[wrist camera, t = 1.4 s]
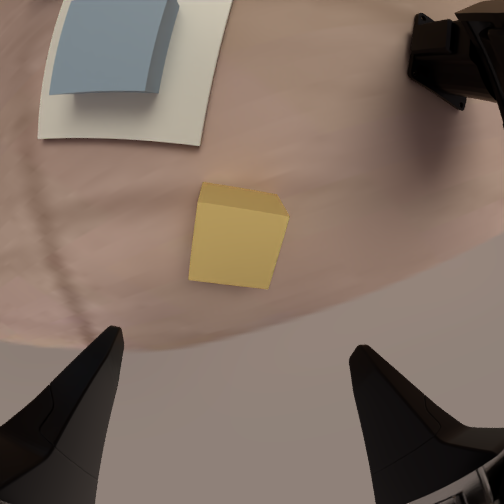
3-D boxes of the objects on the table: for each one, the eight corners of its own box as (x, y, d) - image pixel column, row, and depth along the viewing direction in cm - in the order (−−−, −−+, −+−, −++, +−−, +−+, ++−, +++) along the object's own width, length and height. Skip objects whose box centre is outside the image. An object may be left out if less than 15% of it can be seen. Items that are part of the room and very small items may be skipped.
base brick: (179, 6, 10) (171, -12, 8) (158, 93, 13) (144, 91, 11) (92, 12, 9) (71, 0, 7) (73, 94, 12) (48, 95, 10)
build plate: (239, -20, 10) (240, -25, 10) (200, 144, 16) (199, 146, 15) (74, -12, 8) (69, -14, 7) (43, 137, 14) (37, 138, 13)
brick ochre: (276, 193, 18) (289, 216, 15) (260, 256, 21) (268, 289, 17) (203, 181, 17) (198, 201, 14) (193, 247, 20) (188, 279, 16)
